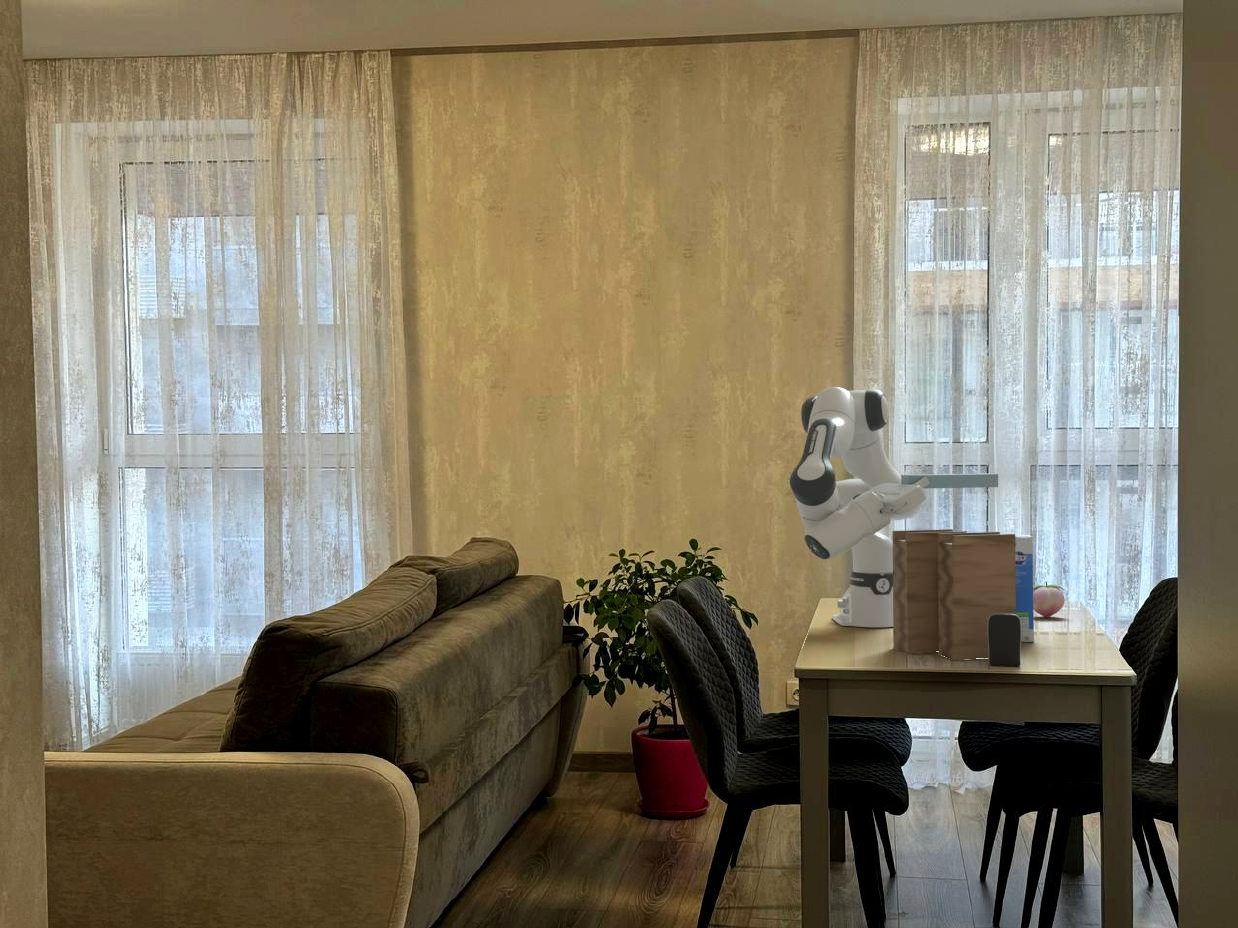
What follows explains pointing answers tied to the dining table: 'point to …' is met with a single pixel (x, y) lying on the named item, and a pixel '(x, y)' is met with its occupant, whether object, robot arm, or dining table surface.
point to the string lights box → (1024, 585)
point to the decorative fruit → (1047, 599)
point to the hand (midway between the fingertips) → (922, 479)
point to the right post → (973, 589)
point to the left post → (916, 590)
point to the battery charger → (1004, 639)
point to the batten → (954, 480)
